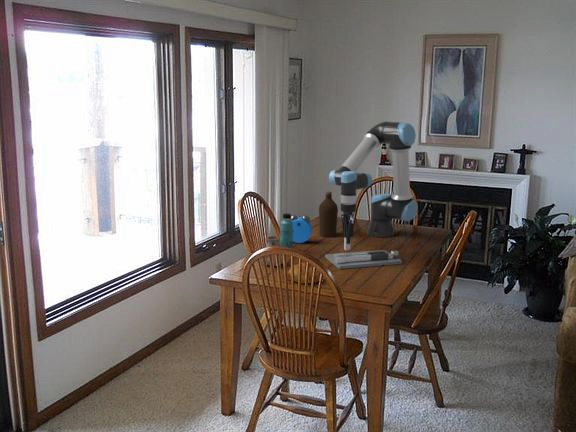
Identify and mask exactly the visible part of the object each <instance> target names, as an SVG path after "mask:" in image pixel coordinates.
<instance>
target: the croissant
mask: <svg viewBox="0 0 576 432" xmlns="http://www.w3.org/2000/svg"><path fill="white" fill-rule="evenodd" d="M305 263H306V262H302V263H301V264H302V284H301V285H305V284H304V280H305ZM298 264H299V263H297V264H295V265H293V266H294V280H295V282H294V283H297V281H298ZM311 276H312V267H310V268H309V278H308V279H309V282H310V281H311ZM288 277H289V278H288ZM287 278H288V279H289V281H291V267H290V268H289V270H288V271H287ZM318 282H320V281H319V277H318V273H317V272H316V273H315V283H314V284H316V283H318Z"/></svg>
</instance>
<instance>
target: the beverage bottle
mask: <svg viewBox="0 0 576 432" xmlns="http://www.w3.org/2000/svg"><path fill="white" fill-rule="evenodd" d="M291 215H292V214H291V213H286V212H285V213H283V214H282V220H281V221H280V236H279V237H280V239H279V244H280V246H282V247H288V248H292V249H293V244H294V242H293V222H292V221H291V220H289V219H290V218H291Z"/></svg>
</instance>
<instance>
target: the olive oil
mask: <svg viewBox="0 0 576 432" xmlns="http://www.w3.org/2000/svg"><path fill="white" fill-rule="evenodd" d="M332 193H333V192H332V191H329V190H328V191H325V199H324V200H323V201H322V202H321V203H320V204H319V205H318V206H319V207H318V217H319V219H318V221H319V222H318V223H319V225H318V226H319V227H318V228H319V230H318V231H319V236H320V237H322V238H334V237H336V236H337V229H338V228H337V226H338V214H339V207H338V204H337V203H336V202H335V200H334V199H333V198H332Z"/></svg>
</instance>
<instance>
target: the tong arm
mask: <svg viewBox="0 0 576 432" xmlns="http://www.w3.org/2000/svg"><path fill="white" fill-rule="evenodd" d="M386 251H387V250H385V251H379V252H367V253H352V254H337V253H333V254H334V260H335V257H341V256H354V255H367V254H378V253H388V252H389V251H387V252H386Z"/></svg>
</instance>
